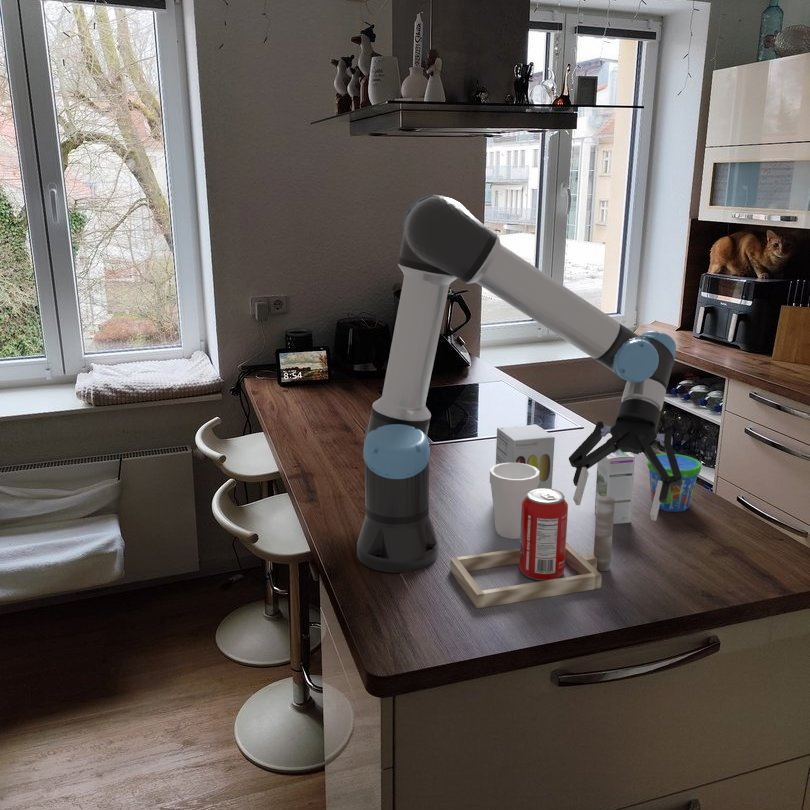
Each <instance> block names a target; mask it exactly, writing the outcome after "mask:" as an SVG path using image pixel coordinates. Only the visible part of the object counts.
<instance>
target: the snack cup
mask: <svg viewBox="0 0 810 810" xmlns="http://www.w3.org/2000/svg"><path fill="white" fill-rule="evenodd" d="M674 454H675V457H676V460H677V463H678V467H679V470H680V473H681V476H682V482H683V484H682V485H681V486H677V485H675V486H672V487H671V488H670V491H669V495H668V500H667V502H666V503H662V502H660V506H659V510H662V511H665V512H669V513H670V512H671V513H681V512H686V511H687V509H689V507H690V505H691V502H692V497H693V495H694V491H695V487H696V484H697V479H698V475H699V474H700V473H701V469H702V464H701V462H700V461H699V460H698V459H696V458H693V457H690V456H687V455H683V454H679V453H678V454H677V453H674ZM656 456H657V458H658V459H659V461H660V462H661V464H662V465H663V467H664V469H665V470H666V472H667V473H668V475H670V476H673V474H672V471H671V467H670V464H669V461H668V458H667V455H666V453H659V454H658V453H657V454H656ZM647 467H648V471H649V486H650V497H651V499H650V500H651V504H653V500H654V496H655V492H656V487H657V483H658V480H659V481H661V479H660V477H659V476H658V474H657V473H656V471H655V469H654V468H653V466H652V465H651V463H650V461H649V460H648V459H647Z"/></svg>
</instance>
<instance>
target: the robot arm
mask: <svg viewBox="0 0 810 810" xmlns="http://www.w3.org/2000/svg"><path fill="white" fill-rule="evenodd" d="M402 232H403V235H402V240H401V246H400V250H399V257H398V262H397V266H398V268H399V269H400V270H401V271H402V273H403V281H402V286H401V291H400V298H399V303H398V308H397V312H396V319H395V324H394V330H393V335H392V341H391V345H390V351H389V355H388V356H389V358H388V361H387V362H388V363H387V366H386V372H385V378H384V384H383V389H382V394H381V396H380V397H379V398H378V399H377V400H375V401H374V402H373V403H372V405H371V406H372V407H371V409H370V410H371V411H370V416H369V423H368V425H367V427H366V429H365V431H364V432H365V433H364V442H363V443H364V444H363V445H364V446H363V450H362V455H363V461H364V462H363V463H364V501H365V503H364V504H365V516H364V520H363V523H362V526H361V529H360V532H359V535H358V539H357V542H356V556H357V559H358V561H359V562H360V563H361V564H362V565H364V566H365V567H366V568H368V569H372V570H374V571H378V572H383V573H391V574H401V573H409V572H413V571H419V570H421V569H424V568H427V567H429V566H430V565H432V564H434V562H435V561H436V560H437V559H438V557H439V541H438V537H437V534H436V532H435V528H434V526H433V522H432V520H431V517H430V458H431V449H430V445H429V439H428V432H429V429H430V427H429V426H430V423H431V417H432V414H431V411H430V410H429V409H428V407H427V405H426V403H427V397H428V393H429V389H430V388H429V387H430V383H431V377H432V372H433V368H434V363H435V358H436V353H437V349H438V348H437V347H438V345H439V344H438V343H439V338H440V334H441V333H440V332H441V328H442V324H443V318H444V313H445V308H446V304H447V298H448V294H449V289H450V285H451V284H452V283H453V282H455V281H456V280H457V279H459V281H462V282H463V283H465V284H467V285H469V284H478V285H479V286H480V287H482V288H484V289H485V290H487V291H488V292H490V293H491V294H493V295H495V297H497V298H499V299H501V300H502V301H504V302H505V303H507V304H508V305H510V306H511V307H513V308H515V310H518V311H519V312H521V313H522V314H524V315H525V316H527V317H529V318H530V319H532V320H533V321H535V322H537V323H538V324H540V325H541V326H542V327H544V328H546V329H547V330H548V331H550V332H552V333H553V334H555V335H556V336H558V337H559V338H561V339H562V340H564V341H566V342H567V343H569V344H571V346H573V347H575V348H576V349H578V350H579V351H581V352H582V353H584V354H586V355H587V356H589V357H590V358H592V359H594V360H595V361H596V362H597V363H599V364H601V366H602V365H603V366H604V367H606V368H607V369H609V370H610V371H612V372H613V373H614V374H616V375H617V377H619V378H620V379H622V380H624V381H626V382H625V386H624V389H623V393H622V397H621V399H620V400H621V403H620V404H619V407H618V411H617V415H616V418H615V422H614V423H613V425H612V426H610V425H606V424H604V422H603V421H598V422H597V423H596V425H595V428H594V430H593V431H592V432H590V435H588V437H587V438H585V440H583V442H582V443H581V444H580V445H579V446H578V447H577V448H576V449H575V450H574V452H573V453H572V454H570V456H569V457H568V461H569V464H570V466H571V467H572V468H575V472H574V476H573V479H572V482H573V485H574V486H575V492H574V495H573V498H572V500H573V501H574V503H575V506H581V504H582V503H581V502H582V500H583V499H582V498H583V495H584V492H585V489H586V485H587V481H588V477H589V475H590V473H589V471H588V470H589V469H590V468H592V467H594V465H597V463H598V462H599V461H600V460H602V459H603V458H605V457H606V456H608V455H609V454H611V453H614V452H616V451H617V450H619V449H620V450H621V451H622V452H629V453H630V454H634V455H639V454H642V453H643V454H644V456H645V458H646V460H647V461H648V460H649V461H650V463H651V465H652V466H653V468H654V469H655V471H656V473H657V474H658V476H659V477H660V479H661V481H659V480H658V483H657V487H656V492H655V496H654V500H653V504H652V503H651V504H652V505H651V509H650V514H649V515H650V520H651V521H655V522H656V521H657V518H658V515H659V510H660V509H659V506H660V502H662V503H666V502H667V500H668V495H669V491H670V488H671V487H672V486H675V485H677V486H681V485H682V484H683V482H682V476H681V473H680V470H679V467H678V463H677V460H676V457H675V454H676V453H675V451H674V448H673V442H674V440H673V434H672V432H671V431H666V432H664V433H658V432H657V430H658V425H659V423H660V419H661V413H662V412H661V411H662V409H663V406H664V402H665V398H666V393H667V389H668V385H669V382H670V377H671V375H672V374H671V373H672V370H673V368H674V367H673V366H674V365H675V358H676V354H677V352H676V351H677V344H676V341H675V340H674V339H673V337H671V336H670V335H669V334H667V333H665V332H659V331H656V330H648V331H645V332H643V333H641V334H640V335H639V334H638V333H635V332H633V331H632V330H630V329H629V328H628V327H626V326H625V325H623V324H621V323H620V322H618V321H617V320H615V319H614V318H612V317H611V316H610V315H608V314H606V313H605V312H604V311H602V310H600V309H599V308H598V307H596V306H594V305H593V304H592V303H590V302H588V301H587V300H585V299H584V298H583V297H581V296H579V295H578V294H576V293H575V292H573V291H572V290H571V289H569V288H568V287H566V286H564V285H563V284H562V283H560V282H558V281H557V280H556V279H554V278H553V277H551V276H549V275H548V274H547V273H545V272H544V271H542V270H540V269H539V268H538V267H536V266H534V265H533V264H531V263H530V262H528V261H527V260H525V259H524V258H523V257H521V256H519V255H518V254H516V253H515V252H513V251H512V250H510V249H509V248H507V246H504V245H503V244H502V243H501V240H500V235H499V234H498V233H496V232H494V231H493V230H492V229H490V228H489V227H487V225H485V224H484V223H483V222H481V221H480V220H479V219H478V218H476V216H474V215H473V214H472V213H471V212H470V210H468V209H467V208H466V206H464V204H462V203H460V202H459V201H457V200H456V199H453V198H452V197H447V196H445V195H439V194H432V195H427V196H425V197H422V198H420V199H418V200H417V201H416V202H415V203H413V204H412V205H411V206H410V208H408V211H407V212H406V214H405V216H404V219H403V225H402ZM609 434H610V435H611V437H609V438H608V439H607V440H606V441H605V443H603V444H601V445H600V446H599V447H597V448H596V449H594V448H595V447H596V446H597V445H598V443H600V441H601V440H602V439H603V438H605V437H606V436H607V435H609ZM657 441H658V442H659V443H660V446H662V447H664V449H665V450H664V451H665V454H666V455H667V458H668V461H669V464H670V467H671V471H672V474H673V476H670V475H668V473H667V472H666V470H665V469H664V467H663V465H662V464H661V462H660V461H659V459H658V458H657V456H656V455H657V454H656V453H655V451H654V450H653V448H652V446H653V445H654V444H656V442H657ZM593 449H594V450H593Z"/></svg>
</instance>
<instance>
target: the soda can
mask: <svg viewBox="0 0 810 810" xmlns="http://www.w3.org/2000/svg"><path fill="white" fill-rule="evenodd" d="M568 504H569V503H568V502H567V501H566V499H565V494H564V493H563V492H561V491H559V490H557V489H554V488H552V489H550V488H536V489H531V490H529V491H528V492H527V493H526V497H525V498H524V499H523V501H522V507H521V534H520V538H519V539H520V540H519V548H520V560H519V570H520V572H521V573H522V574H523V575H524V576H525V577H527V578H529V579H532V580H535V581H538V582H540V581H546V580H552V579H558V578H562V576H563V575H564V573H565V570H566V569H565V567H566V565H565V564H566V561H565V552H566V542H567V535H568V534H567V533H568V531H567V530H568V517H569V516H568V515H569V513H568V512H569V505H568Z"/></svg>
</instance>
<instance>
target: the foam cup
mask: <svg viewBox="0 0 810 810" xmlns="http://www.w3.org/2000/svg"><path fill="white" fill-rule="evenodd" d="M539 472H540V471H539V470H538V469H537V468H536V467H534V466H531V465H528V464H523V463H501V464H497V465H496V464H495V465H493V466H491V468H490V469H489V483H490V489H491V498H492V504H493V505H492V507H493V515H494V517H493V518H494V524H495V530H496V531H495V532H496V533H497V534H498V536H501V537H503V538H504V539H505V538H506V539H512V540H513V539H514V540H515V539H516V540H517V539H520V534H521V507H522V501H523V499H524V498H525V497H526V493H527V492H528V491H529V490H531V489H536V488H537V487H538V485H539Z"/></svg>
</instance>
